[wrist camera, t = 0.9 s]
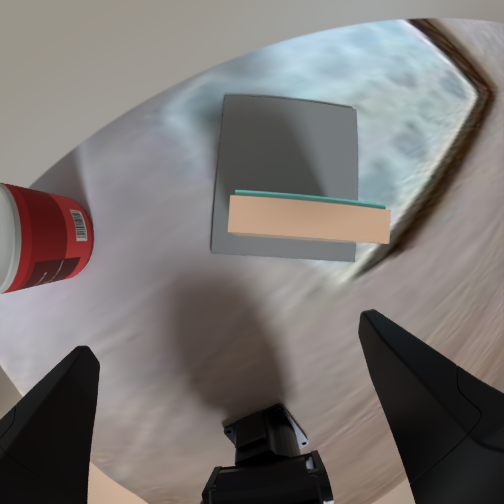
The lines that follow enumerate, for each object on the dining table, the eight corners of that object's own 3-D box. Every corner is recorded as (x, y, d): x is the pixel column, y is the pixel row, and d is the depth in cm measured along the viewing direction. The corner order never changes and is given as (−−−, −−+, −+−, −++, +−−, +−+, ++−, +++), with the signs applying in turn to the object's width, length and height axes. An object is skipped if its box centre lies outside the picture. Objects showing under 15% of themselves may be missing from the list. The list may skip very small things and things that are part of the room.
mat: (352, 261, 24) (354, 262, 23) (211, 252, 24) (211, 253, 23) (354, 111, 23) (356, 109, 23) (225, 97, 23) (224, 95, 23)
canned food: (57, 185, 23) (-20, 164, 12) (110, 223, 24) (30, 214, 13) (30, 250, 24) (-46, 255, 13) (78, 293, 24) (0, 318, 13)
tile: (334, 242, 23) (388, 243, 13) (237, 235, 23) (227, 231, 13) (335, 218, 23) (390, 204, 13) (238, 210, 23) (230, 188, 13)
